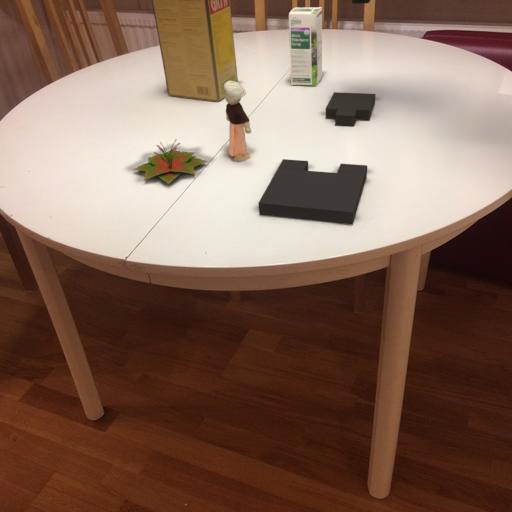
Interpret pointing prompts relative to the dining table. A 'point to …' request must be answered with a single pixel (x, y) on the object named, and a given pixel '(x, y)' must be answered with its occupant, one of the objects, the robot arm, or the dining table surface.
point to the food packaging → (196, 47)
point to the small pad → (350, 107)
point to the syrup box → (305, 45)
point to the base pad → (314, 193)
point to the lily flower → (170, 164)
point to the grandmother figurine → (236, 121)
